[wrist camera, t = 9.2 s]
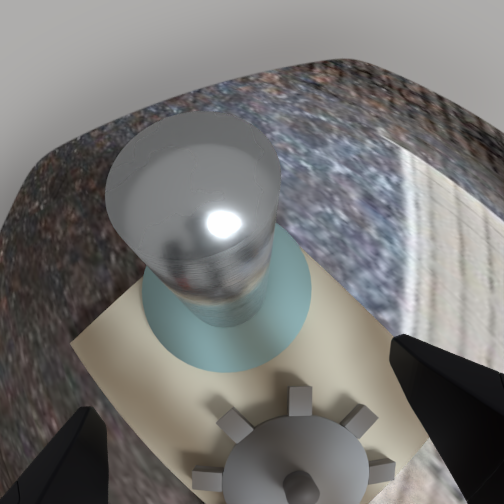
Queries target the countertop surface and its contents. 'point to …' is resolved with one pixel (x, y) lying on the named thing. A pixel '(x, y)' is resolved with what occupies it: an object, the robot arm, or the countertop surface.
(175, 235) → the axle
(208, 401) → the board
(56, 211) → the countertop surface
